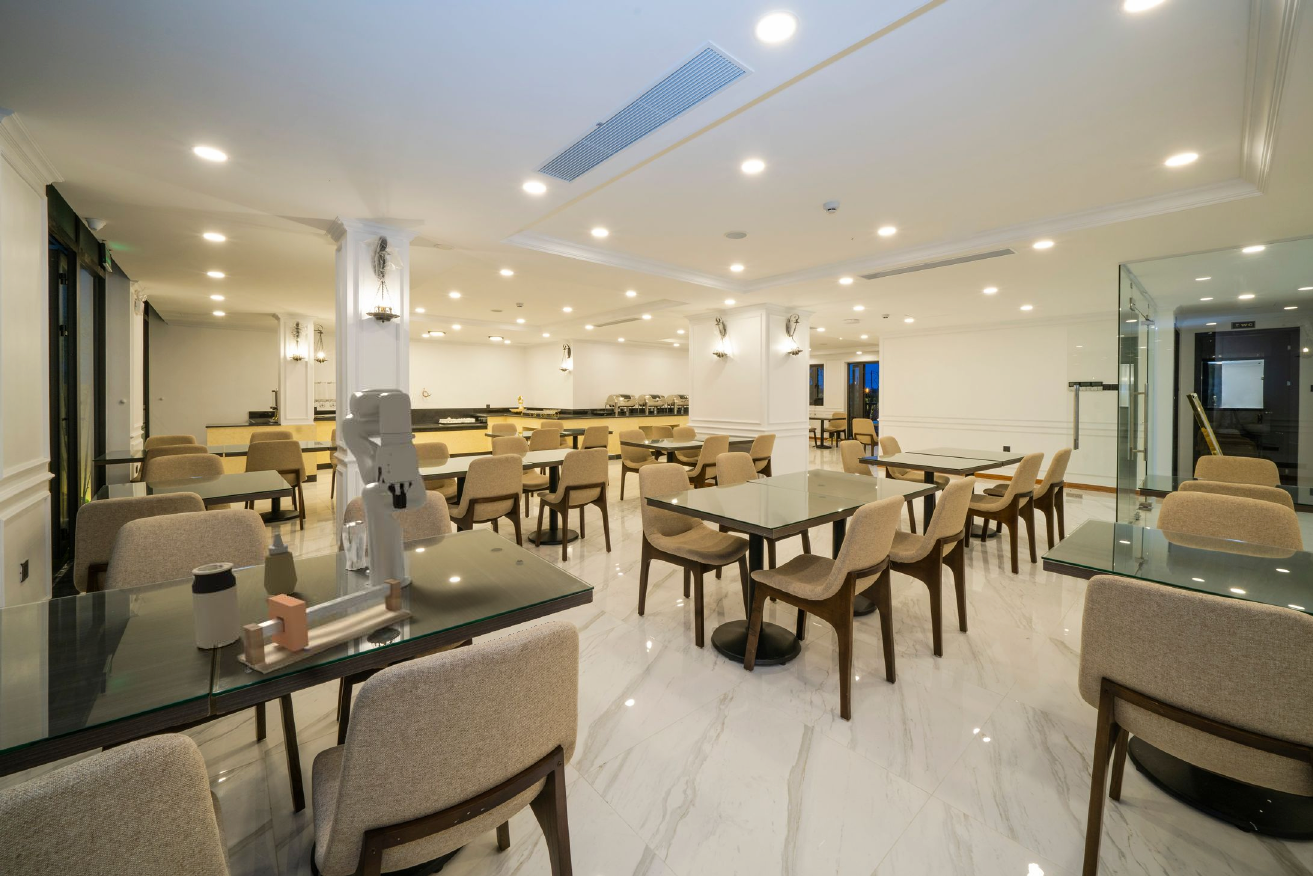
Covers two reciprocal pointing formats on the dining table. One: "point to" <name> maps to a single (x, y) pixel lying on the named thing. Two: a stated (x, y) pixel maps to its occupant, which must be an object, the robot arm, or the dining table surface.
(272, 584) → the squeeze bottle
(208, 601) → the travel mug
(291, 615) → the collar
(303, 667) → the dining table surface
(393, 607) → the pipe stand
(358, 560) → the beer glass
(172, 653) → the dining table surface
